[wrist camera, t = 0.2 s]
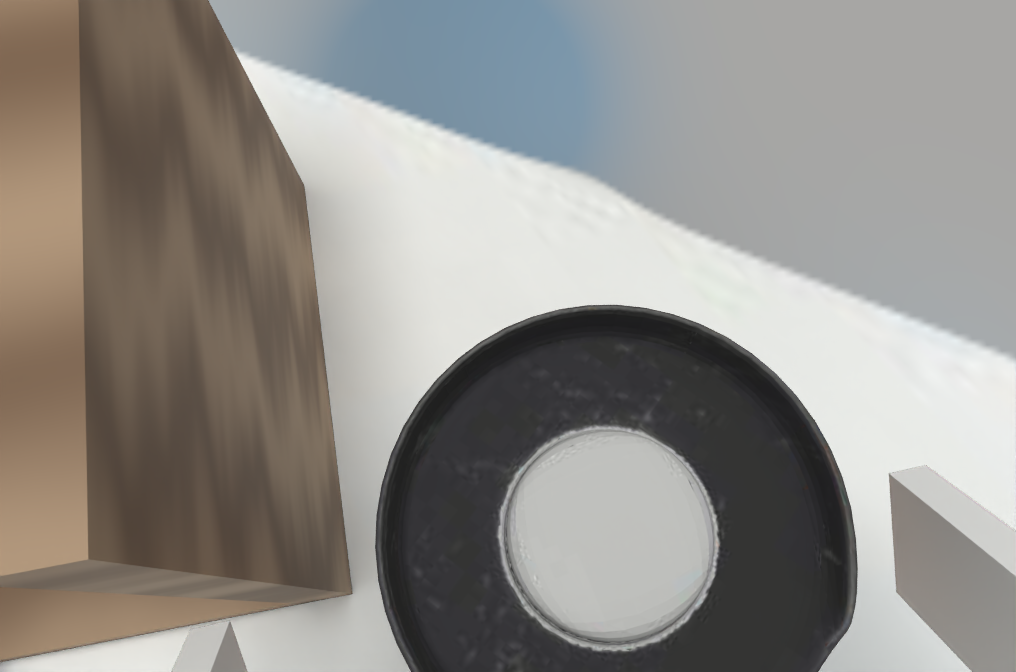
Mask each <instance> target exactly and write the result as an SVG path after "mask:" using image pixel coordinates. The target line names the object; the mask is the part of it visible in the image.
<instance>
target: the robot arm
mask: <svg viewBox="0 0 1016 672" xmlns="http://www.w3.org/2000/svg"><path fill="white" fill-rule="evenodd" d="M889 483H890V499H891V514H892V530H893V545H894V561H895V577H896V592H897V593H898V594H899V595H900V596H901V597H902V599H903V600H904V601H905V602H906V603H907V604H908V605H909V606H910V607H911V608H912V609H913V610H914V611H915V612H916V613H917V614H918V615H919V616H920V617H921V618H922V620H923V621H924V622H925V623H926V624H927V625H928V626H929V627H930V628H931V629H932V630H933V631H934V632H935V633H936V634H937V635H938V636H939V637H940V638H941V640H942V641H943V642H944V643H945V644H946V645H947V646H948V647H949V648H950V649H951V650H952V651H953V652H954V653H955V654H956V655H957V656H958V657H959V658H960V660H961V661H962V662H963V663H964V664H965V665H966V666H967V667H968V668H969V669H970V670H971V671H972V672H1016V531H1015V530H1014V529H1013V528H1011V527H1010V526H1009V525H1007V524H1006V523H1005V522H1003V521H1002V520H1000V519H999V518H998V517H996V516H995V515H994V514H992V513H991V512H990V511H988V510H987V509H985V508H984V507H983V506H981V505H980V504H979V503H977V502H976V501H975V500H973V499H972V498H970V497H969V496H968V495H966V494H965V493H964V492H962V491H961V490H960V489H958V488H957V487H955V486H954V485H953V484H951V483H950V482H949V481H947V480H946V479H945V478H943V477H942V476H940V475H939V474H938V473H936V472H935V471H934V470H932V469H931V468H930V467H928V466H927V465H924V466H920V467H915V468H911V469H906V470H902V471H897V472H893V473H889ZM171 672H247V669H246V666H245V663H244V660H243V657H242V654H241V652H240V649H239V646H238V643H237V640H236V637H235V634H234V631H233V628H232V625H231V622H230V621H226V622H221V623H217V624H213V625H208V626H204V627H199V628H195V629H190V631H189V633H188V636H187V638H186V640H185V642H184V645H183V647H182V649H181V651H180V653H179V656H178V658H177V660H176V662H175V665H174V667H173V669H172V671H171Z"/></svg>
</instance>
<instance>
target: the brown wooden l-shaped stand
mask: <svg viewBox="0 0 1016 672" xmlns="http://www.w3.org/2000/svg"><path fill="white" fill-rule="evenodd" d="M349 594H352V588H351V579H350V571H349V562H348V554H347V545H346V537H345V528H344V520H343V511H342V503H341V494H340V486H339V477H338V469H337V460H336V452H335V443H334V435H333V426H332V418H331V409H330V401H329V392H328V384H327V375H326V367H325V358H324V350H323V342H322V333H321V325H320V316H319V308H318V299H317V291H316V282H315V274H314V265H313V257H312V248H311V240H310V231H309V223H308V214H307V206H306V197H305V189H304V184H303V182H302V180H301V178H300V177H299V175H298V173H297V171H296V169H295V167H294V165H293V163H292V161H291V159H290V157H289V155H288V153H287V151H286V150H285V148H284V146H283V144H282V142H281V140H280V138H279V136H278V134H277V132H276V130H275V128H274V126H273V124H272V123H271V121H270V119H269V117H268V115H267V113H266V111H265V109H264V107H263V105H262V103H261V101H260V99H259V97H258V95H257V94H256V92H255V90H254V88H253V86H252V84H251V82H250V80H249V78H248V76H247V74H246V72H245V70H244V68H243V67H242V65H241V63H240V61H239V59H238V57H237V55H236V53H235V51H234V49H233V47H232V45H231V43H230V41H229V40H228V38H227V36H226V34H225V32H224V30H223V28H222V26H221V24H220V22H219V20H218V19H217V17H216V14H215V13H214V11H213V9H212V7H211V5H210V3H209V1H208V0H0V662H3V661H9V660H14V659H19V658H24V657H29V656H34V655H40V654H45V653H50V652H55V651H60V650H65V649H71V648H76V647H81V646H86V645H91V644H96V643H102V642H107V641H112V640H117V639H122V638H127V637H133V636H138V635H143V634H148V633H153V632H158V631H164V630H169V629H174V628H179V627H184V626H189V625H194V624H200V623H205V622H210V621H215V620H220V619H225V618H231V617H236V616H241V615H246V614H251V613H256V612H262V611H267V610H272V609H277V608H282V607H287V606H293V605H298V604H303V603H308V602H313V601H318V600H324V599H329V598H334V597H339V596H344V595H349Z"/></svg>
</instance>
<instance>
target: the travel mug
mask: <svg viewBox="0 0 1016 672" xmlns="http://www.w3.org/2000/svg"><path fill="white" fill-rule="evenodd" d="M375 549H376V560H377V571H378V581H379V585H380V590H381V595H382V599H383V604H384V608H385V612H386V615H387V618H388V621H389V624H390V626H391V629H392V632H393V635H394V637H395V640H396V643H397V645H398V647H399V649H400V651H401V653H402V655H403V657H404V659H405V661H406V663H407V665H408V667H409V669H410V670H411V672H818V671H819V670H820V668H821V666H822V665H823V663H824V662H825V660H826V659H827V657H828V656H829V654H830V653H831V651H832V650H833V649H834V647H835V646H836V645H837V643H838V642H839V641H840V640H841V638H842V637H843V636H844V634H845V633H846V632H847V630H848V628H849V626H850V624H851V622H852V618H853V613H854V609H855V603H856V595H857V570H858V569H857V551H856V537H855V531H854V524H853V518H852V511H851V506H850V503H849V499H848V496H847V492H846V488H845V485H844V481H843V478H842V475H841V473H840V470H839V468H838V466H837V463H836V461H835V458H834V456H833V454H832V451H831V449H830V447H829V445H828V443H827V441H826V440H825V438H824V436H823V434H822V433H821V431H820V429H819V427H818V425H817V424H816V422H815V420H814V419H813V418H812V416H811V415H810V413H809V412H808V411H807V409H806V408H805V407H804V405H803V404H802V403H801V401H800V400H799V398H798V397H797V396H796V395H795V394H794V393H793V391H792V390H791V389H790V388H789V387H788V386H787V385H786V384H785V383H784V382H783V381H782V380H781V379H780V378H779V377H778V376H777V374H776V373H774V372H773V371H772V370H771V369H770V368H769V367H767V366H766V365H765V364H764V363H763V362H761V361H760V360H759V359H758V358H757V357H755V356H754V355H753V354H752V353H750V352H749V351H747V350H746V349H744V348H743V347H741V346H740V345H738V344H737V343H735V342H733V341H732V340H730V339H729V338H727V337H726V336H724V335H721V334H719V333H717V332H715V331H713V330H711V329H709V328H707V327H705V326H703V325H701V324H699V323H696V322H693V321H691V320H688V319H685V318H682V317H679V316H676V315H674V314H670V313H665V312H661V311H656V310H652V309H648V308H641V307H632V306H622V305H587V306H580V307H573V308H566V309H559V310H556V311H552V312H548V313H545V314H541V315H537V316H534V317H531V318H528V319H526V320H523V321H521V322H518V323H516V324H513V325H511V326H509V327H506V328H504V329H502V330H501V331H499V332H497V333H495V334H494V335H492V336H490V337H488V338H487V339H485V340H483V341H481V342H480V343H478V344H477V345H476V346H474V347H473V348H472V349H470V350H469V351H468V352H466V353H465V354H464V355H462V356H461V357H460V358H458V359H457V360H456V361H455V362H454V363H453V364H452V365H451V366H450V367H449V368H448V369H447V370H446V371H445V372H444V373H443V374H442V375H441V376H440V377H439V378H438V379H437V380H436V381H435V382H434V383H433V385H432V386H431V387H430V388H429V390H428V391H427V392H426V393H425V395H424V396H423V397H422V398H421V400H420V401H419V402H418V404H417V405H416V407H415V409H414V410H413V412H412V414H411V415H410V417H409V419H408V420H407V422H406V423H405V425H404V427H403V429H402V431H401V433H400V435H399V438H398V440H397V442H396V444H395V447H394V449H393V451H392V453H391V456H390V459H389V462H388V466H387V469H386V472H385V476H384V479H383V482H382V487H381V493H380V498H379V504H378V510H377V520H376V545H375Z"/></svg>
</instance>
